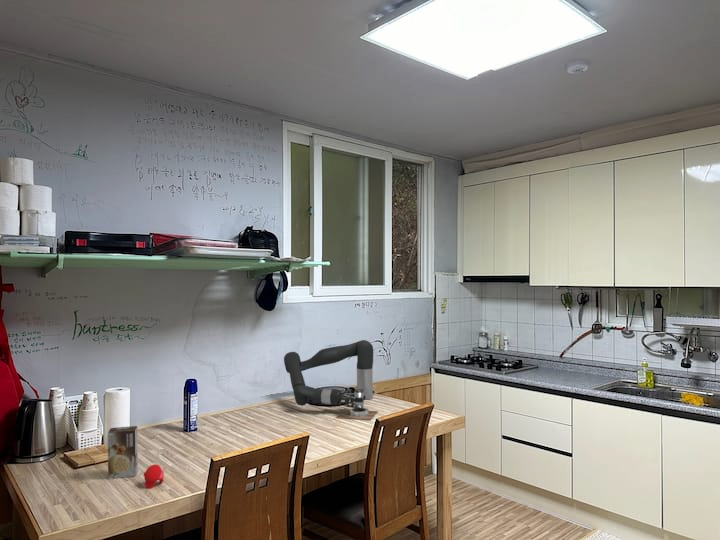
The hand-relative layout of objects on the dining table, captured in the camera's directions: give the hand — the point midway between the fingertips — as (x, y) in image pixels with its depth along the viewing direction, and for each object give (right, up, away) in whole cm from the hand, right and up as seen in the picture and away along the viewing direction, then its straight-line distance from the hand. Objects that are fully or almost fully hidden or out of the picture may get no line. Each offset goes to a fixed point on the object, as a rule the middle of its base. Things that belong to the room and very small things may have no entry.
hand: (364, 399), depth 253 cm
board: (-3, -9, +1) cm, 10 cm away
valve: (-4, -10, +21) cm, 24 cm away
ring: (-2, -8, 0) cm, 8 cm away
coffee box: (-86, -8, -74) cm, 114 cm away
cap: (-71, -8, -83) cm, 110 cm away
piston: (-3, -7, 0) cm, 7 cm away
